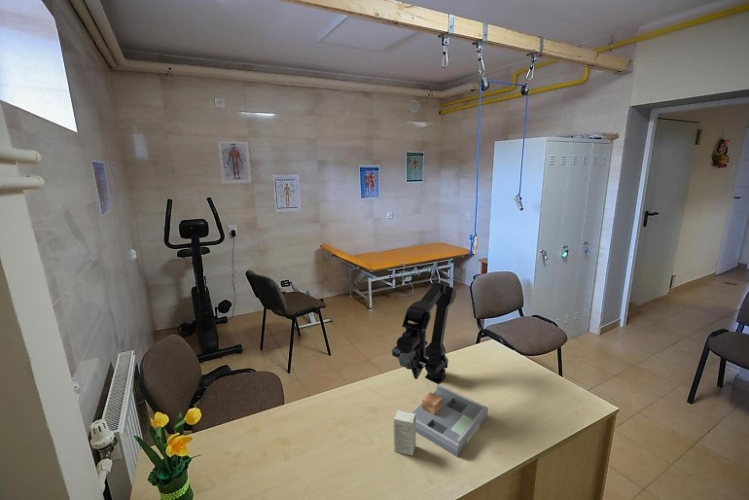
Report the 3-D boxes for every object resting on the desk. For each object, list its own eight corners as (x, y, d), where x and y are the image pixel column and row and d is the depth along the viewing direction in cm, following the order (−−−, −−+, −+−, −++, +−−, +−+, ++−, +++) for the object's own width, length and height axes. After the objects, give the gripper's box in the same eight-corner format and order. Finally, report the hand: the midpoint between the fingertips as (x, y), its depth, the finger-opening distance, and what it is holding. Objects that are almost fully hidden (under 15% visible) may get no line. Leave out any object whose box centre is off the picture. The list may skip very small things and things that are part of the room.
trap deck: (404, 424, 118) (404, 412, 117) (437, 393, 134) (438, 381, 133) (456, 456, 105) (457, 443, 104) (487, 417, 121) (488, 405, 120)
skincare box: (416, 445, 110) (417, 413, 106) (412, 456, 106) (413, 423, 102) (396, 440, 112) (397, 408, 108) (392, 451, 108) (393, 418, 104)
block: (421, 408, 123) (422, 399, 122) (429, 401, 127) (429, 392, 126) (434, 415, 120) (434, 405, 119) (441, 407, 123) (441, 398, 122)
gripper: (382, 339, 121) (382, 378, 125) (427, 359, 109) (425, 401, 113) (401, 328, 129) (400, 365, 133) (445, 345, 118) (443, 385, 122)
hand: (416, 378), depth 125 cm, fingers closed
